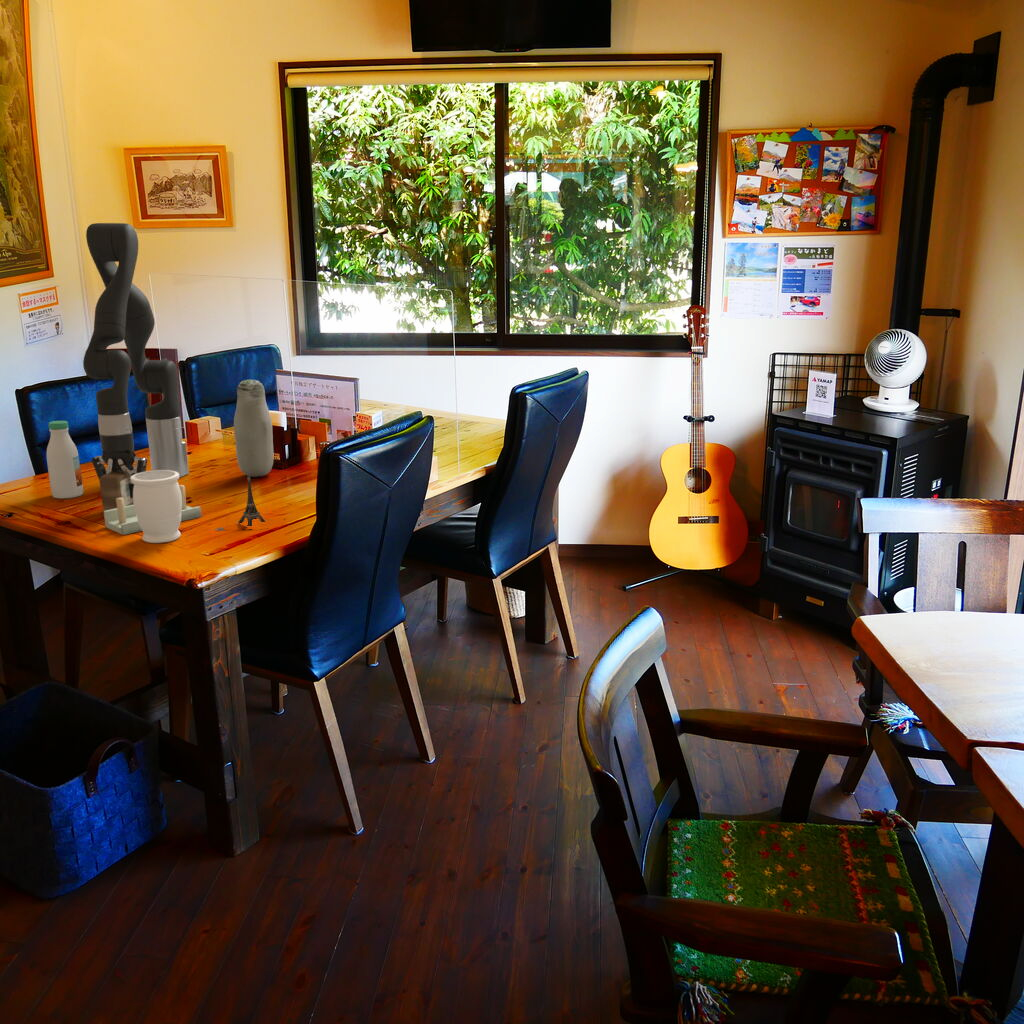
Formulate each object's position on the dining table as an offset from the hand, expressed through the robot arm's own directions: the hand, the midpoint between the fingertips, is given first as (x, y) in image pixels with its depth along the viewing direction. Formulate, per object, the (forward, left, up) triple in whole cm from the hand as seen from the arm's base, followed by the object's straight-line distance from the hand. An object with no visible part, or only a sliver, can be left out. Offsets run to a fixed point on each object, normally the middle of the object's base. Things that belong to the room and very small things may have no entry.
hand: (124, 496), depth 233 cm
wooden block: (0, 0, -2) cm, 2 cm away
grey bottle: (-42, -5, -4) cm, 42 cm away
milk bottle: (+4, -24, -4) cm, 24 cm away
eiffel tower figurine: (-15, +34, -4) cm, 37 cm away
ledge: (0, +15, -3) cm, 16 cm away
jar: (+5, +28, -4) cm, 29 cm away
